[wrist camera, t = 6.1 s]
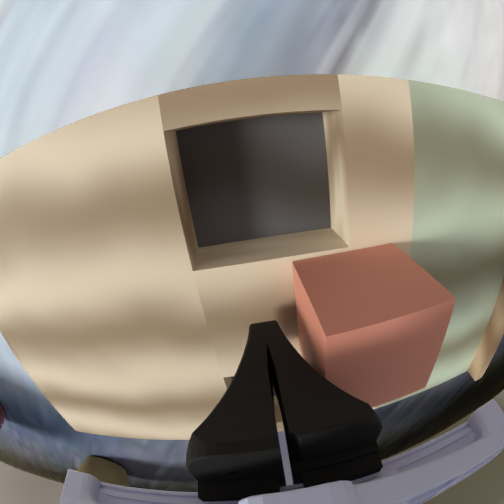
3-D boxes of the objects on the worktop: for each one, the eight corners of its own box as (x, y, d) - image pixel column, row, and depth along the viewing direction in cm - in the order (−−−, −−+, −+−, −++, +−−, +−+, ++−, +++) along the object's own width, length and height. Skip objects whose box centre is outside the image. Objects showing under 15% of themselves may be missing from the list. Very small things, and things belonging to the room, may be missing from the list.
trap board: (459, 347, 21) (482, 377, 17) (84, 407, 21) (71, 443, 17) (496, 106, 12) (542, 112, 8) (-25, 182, 12) (-68, 201, 8)
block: (383, 324, 15) (425, 387, 10) (298, 345, 14) (322, 421, 10) (392, 242, 12) (456, 297, 8) (292, 261, 12) (326, 336, 8)
